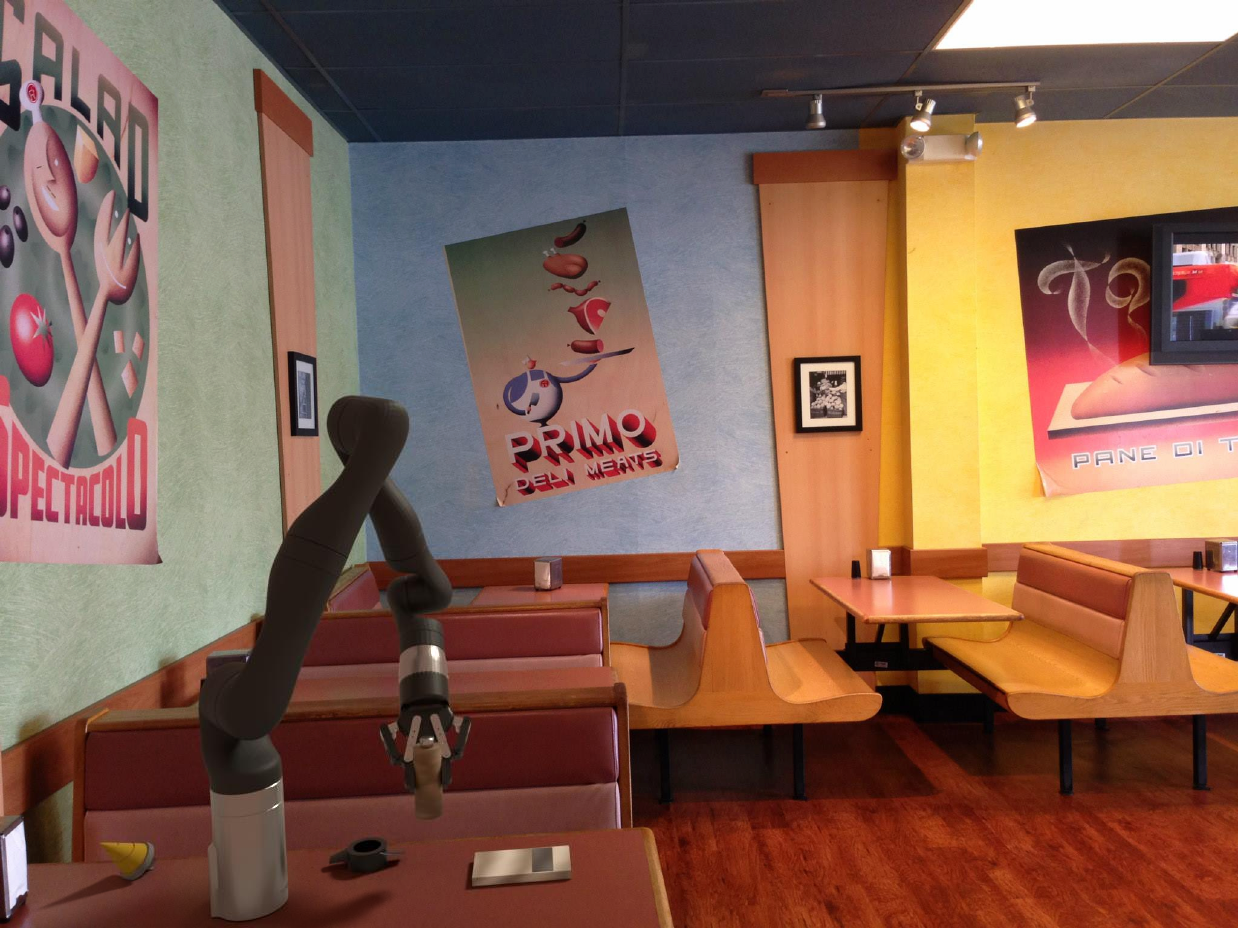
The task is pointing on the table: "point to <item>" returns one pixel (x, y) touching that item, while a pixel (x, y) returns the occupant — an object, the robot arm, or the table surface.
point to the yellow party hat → (131, 857)
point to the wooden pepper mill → (428, 779)
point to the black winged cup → (365, 855)
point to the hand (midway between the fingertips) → (428, 787)
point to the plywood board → (521, 865)
